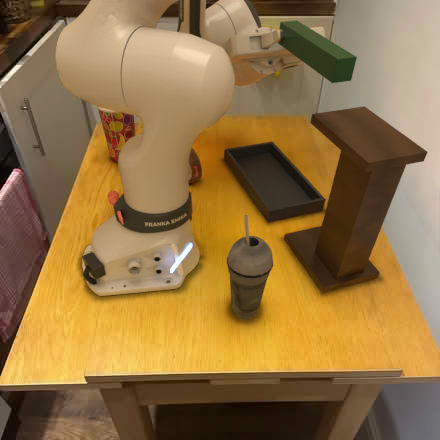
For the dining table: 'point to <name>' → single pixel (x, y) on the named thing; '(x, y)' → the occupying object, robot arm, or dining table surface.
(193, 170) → the tin
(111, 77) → the robot arm
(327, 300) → the dining table surface
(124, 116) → the smoothie
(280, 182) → the tray
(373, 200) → the stand
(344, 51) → the long green square beam
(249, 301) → the beverage cup
